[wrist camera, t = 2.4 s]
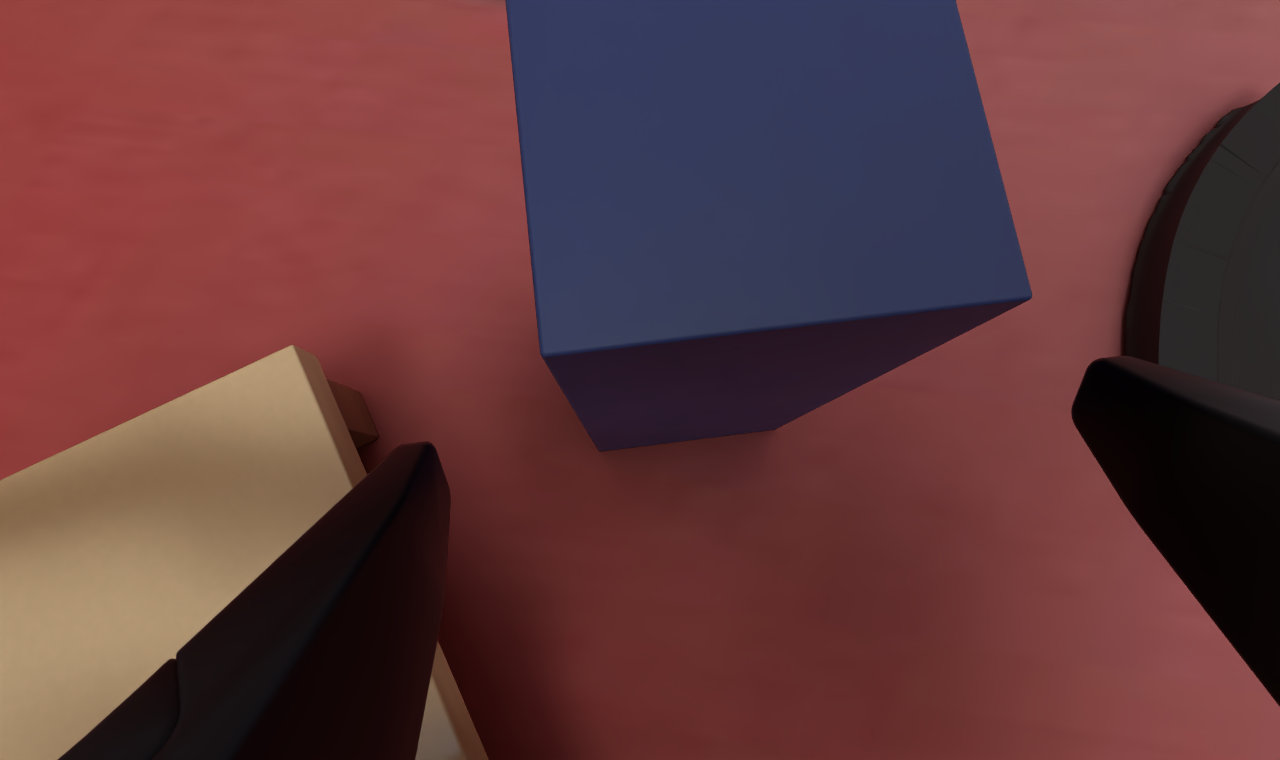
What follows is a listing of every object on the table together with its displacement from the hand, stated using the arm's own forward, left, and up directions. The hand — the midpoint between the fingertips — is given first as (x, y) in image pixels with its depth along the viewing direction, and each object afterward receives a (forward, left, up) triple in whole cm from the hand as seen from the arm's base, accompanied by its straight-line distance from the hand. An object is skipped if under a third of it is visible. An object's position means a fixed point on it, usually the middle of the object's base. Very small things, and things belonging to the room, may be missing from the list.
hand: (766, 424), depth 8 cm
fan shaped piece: (-3, -19, -11) cm, 22 cm away
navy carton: (+3, -1, -11) cm, 11 cm away
